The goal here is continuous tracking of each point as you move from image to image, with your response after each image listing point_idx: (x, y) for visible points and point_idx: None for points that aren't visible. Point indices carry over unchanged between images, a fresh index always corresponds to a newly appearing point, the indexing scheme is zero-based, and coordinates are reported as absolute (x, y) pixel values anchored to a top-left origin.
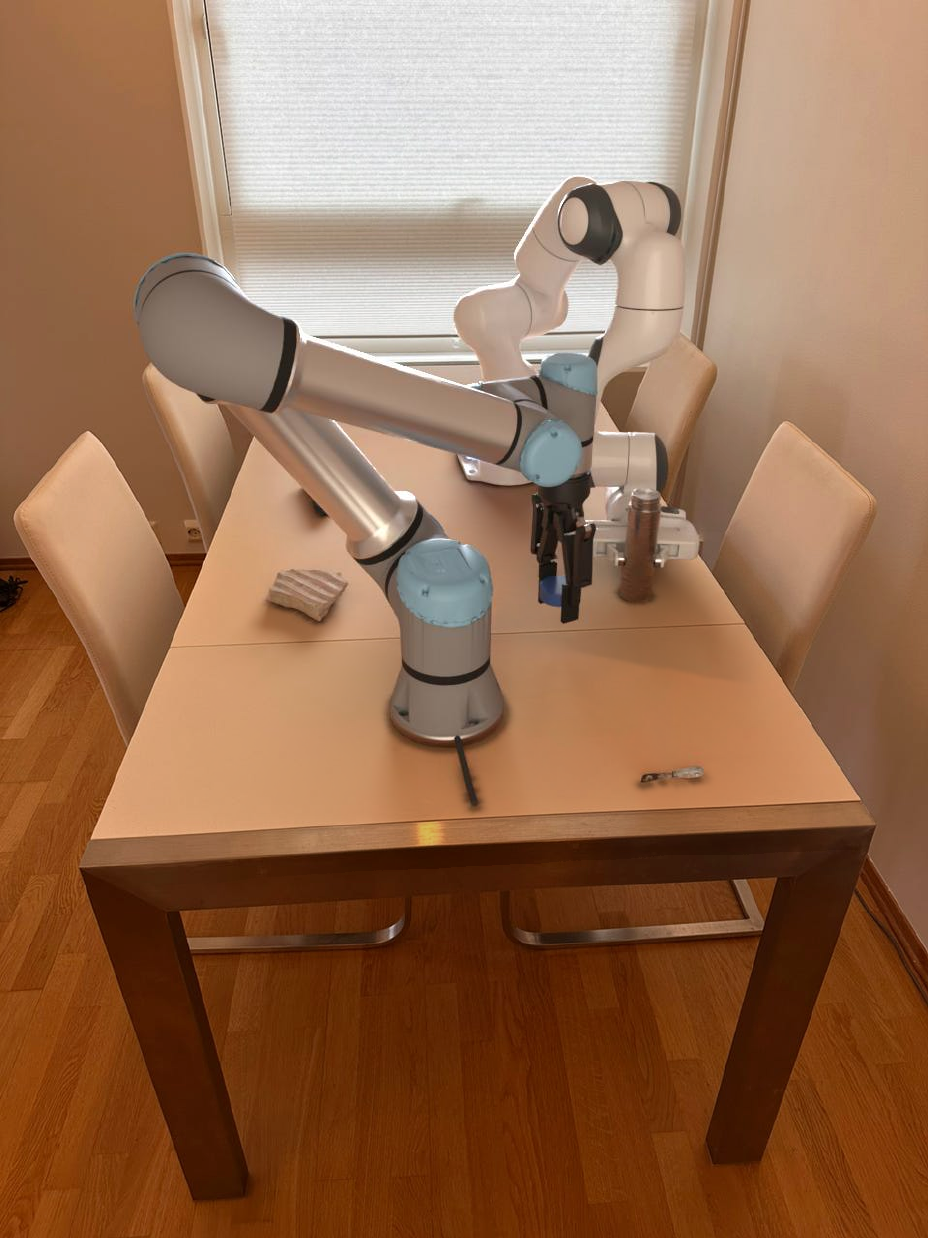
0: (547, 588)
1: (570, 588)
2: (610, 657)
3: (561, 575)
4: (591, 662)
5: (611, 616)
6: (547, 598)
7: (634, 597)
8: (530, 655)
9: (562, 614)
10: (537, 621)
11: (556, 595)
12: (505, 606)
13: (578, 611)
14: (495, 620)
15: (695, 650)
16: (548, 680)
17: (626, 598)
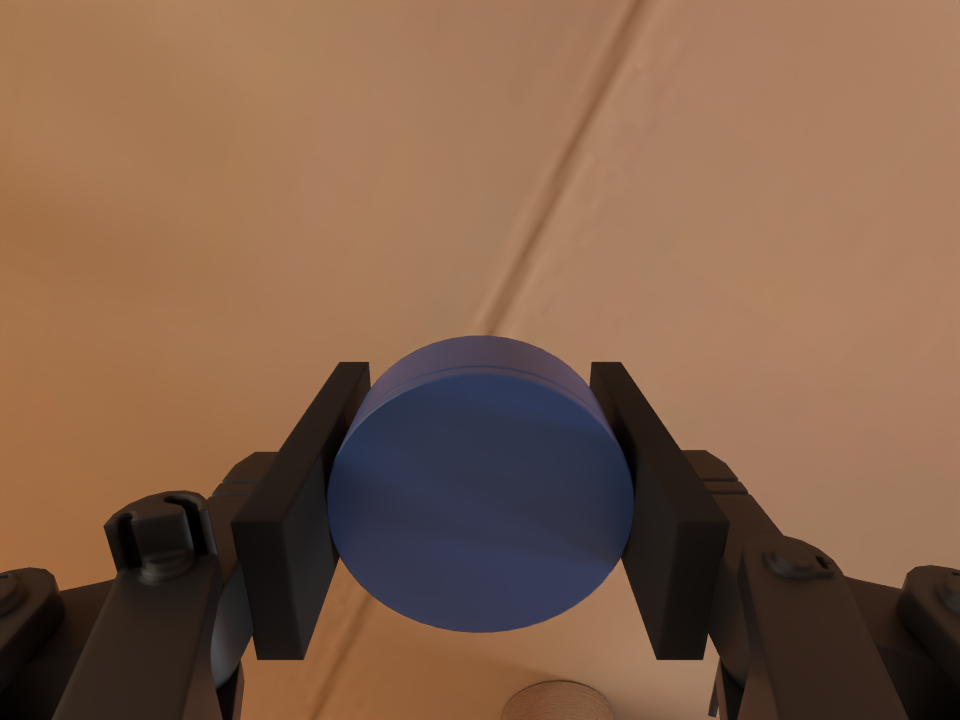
0: (472, 414)
1: (217, 544)
2: (203, 443)
3: (591, 591)
4: (192, 358)
5: None
6: (424, 363)
7: (516, 714)
8: (343, 128)
9: (336, 385)
10: (597, 324)
11: (358, 423)
12: (807, 254)
13: None
14: (729, 131)
15: None
16: (102, 91)
17: (542, 689)
